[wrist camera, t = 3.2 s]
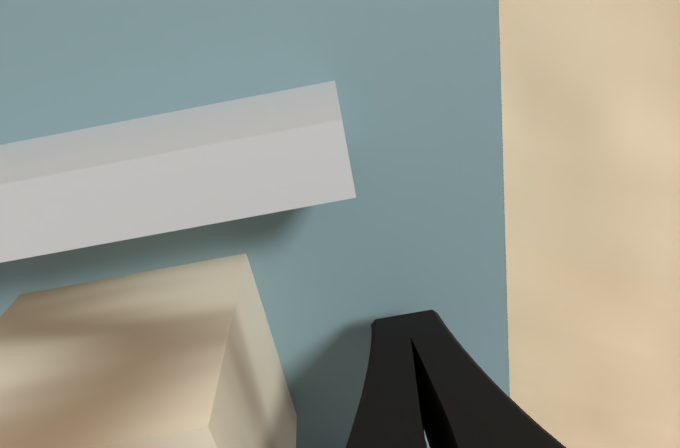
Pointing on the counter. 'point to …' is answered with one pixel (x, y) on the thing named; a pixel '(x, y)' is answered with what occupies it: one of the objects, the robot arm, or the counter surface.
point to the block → (145, 363)
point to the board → (266, 166)
